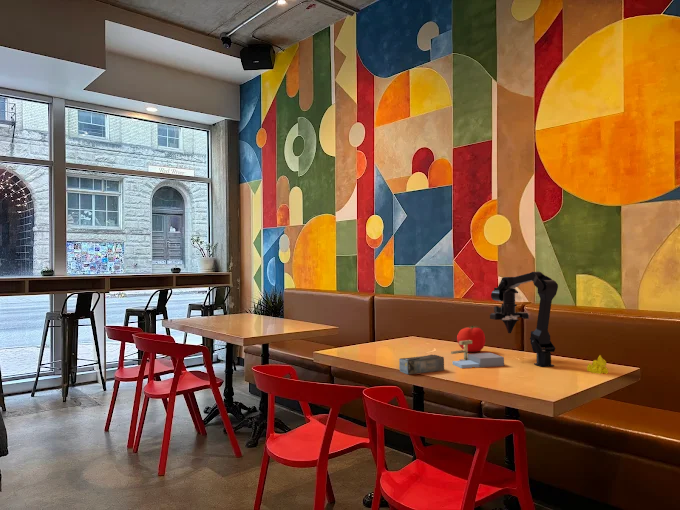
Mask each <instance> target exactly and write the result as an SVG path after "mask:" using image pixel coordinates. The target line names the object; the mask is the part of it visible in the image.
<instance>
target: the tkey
mask: <svg viewBox="0 0 680 510" xmlns="http://www.w3.org/2000/svg"><path fill="white" fill-rule="evenodd" d="M468 344H472V340H465V341H459V344H458V346H459V345H464V349H459V350H453V351H450V354H451V355H454V354H455V355H457V354H463V359H464V360H468V354H469V352H468Z"/></svg>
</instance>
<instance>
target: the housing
mask: <svg viewBox="0 0 680 510" xmlns="http://www.w3.org/2000/svg"><path fill="white" fill-rule="evenodd" d="M468 360H471V361H473V362H476V363H479V365H480V367H479V368H491V367H492V368H493V367H504V366H505V357H504V356H501V355H498V354H496V353H492V352H474V353H468ZM459 361H465V360H464V358H461V359H459Z"/></svg>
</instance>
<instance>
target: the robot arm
mask: <svg viewBox="0 0 680 510" xmlns="http://www.w3.org/2000/svg"><path fill="white" fill-rule="evenodd" d="M530 282H532V283H533V285H534V287H536V289H537V294H538V297H539V305H538V314H537V321H536V328H535V329H534V330H531V331H530V338H529V340H530V346H531V349H532V352H533V353H535V355H536V362H534V363H533V365H535V366H539V367H542V368H546V367H554V366H555V365H554V364H552V353H555V351H556V347H555V345H554V343H552V341H551V334H550V332H549V324H550V316H551V309H552V302H553V299H554V298H555V296H556V295H557V292H558V289H559V284H558V283H557V282H556V280H554V279H552V278H551V277H549V276H547V275H545V274H543V273H542V272H541V271H531V272H529V273H525V274H521V275H516V276H507V277H506V276H503V277H501V279H500V281H499V283H498V286H497V287H493V290H492V291H491V293H490V298H491V299H492V300H493V301H496V302H497V301H498V302H502V303H501V306H499V305H495V306H494V307H493V312H491V313H490V314H489V319H491V320H494V321H495V320H498V321H502V322H503V323H504V325H505V328H506V331H507V333H508V334H512V332H513V329H514V327H515V325H516V324H517V322H518V321H519V320H520V319H518V318H522V319H524V320H528V319H530V315H529V313H528V312H524V311H523V312H522V311H519V312H518V311H517V312H516V307H518V306H517V304H516V294H519V291H518V290H517V289H516V288H518V287H519V286H520V285H521V284H522V285H523V284H527V283H530Z"/></svg>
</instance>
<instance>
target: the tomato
mask: <svg viewBox="0 0 680 510" xmlns="http://www.w3.org/2000/svg"><path fill="white" fill-rule="evenodd" d="M465 340H472V344H468V353H479V352H480V351H482V350H483V348H484V347H485V345H486V335H485V332H484V330H482V328H480V327H479V326H478V325H475V326H474V325H471V326H467V327H463V328H462V329H460V330H459V332H458V333H457V336H456V341H457V344H458V346H459V348H461V350H464V345H459V341H465Z"/></svg>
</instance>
